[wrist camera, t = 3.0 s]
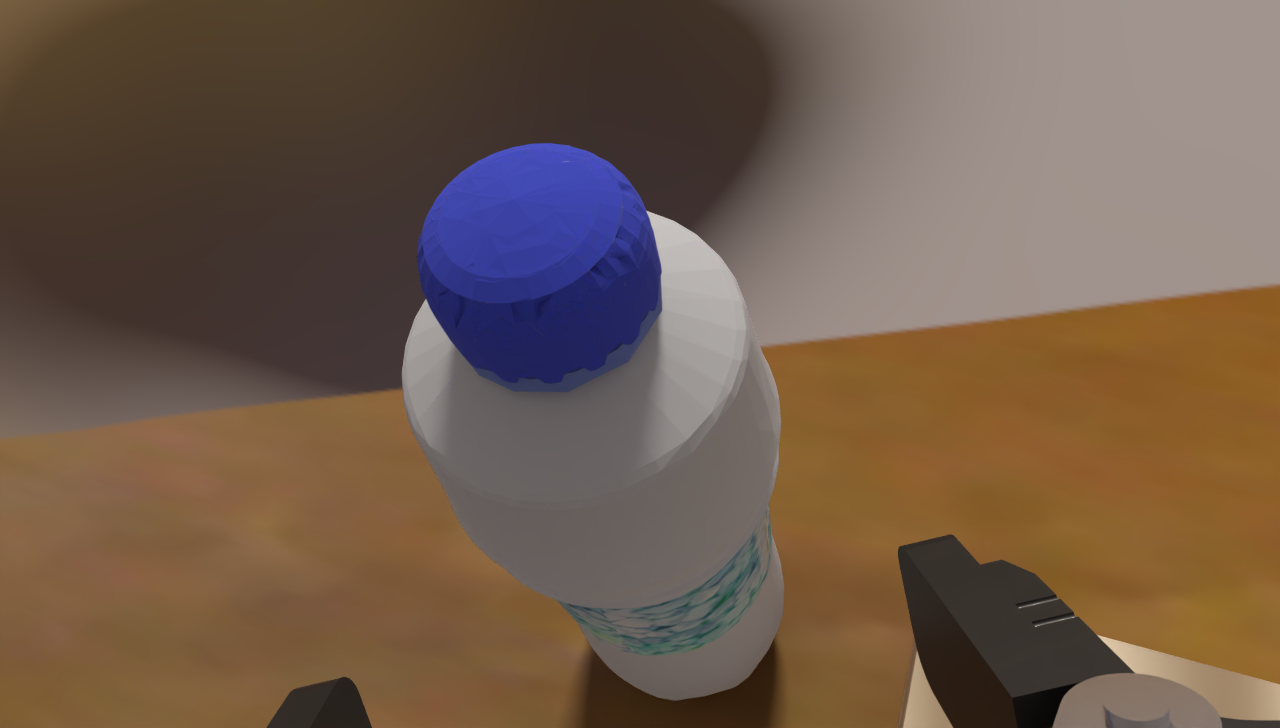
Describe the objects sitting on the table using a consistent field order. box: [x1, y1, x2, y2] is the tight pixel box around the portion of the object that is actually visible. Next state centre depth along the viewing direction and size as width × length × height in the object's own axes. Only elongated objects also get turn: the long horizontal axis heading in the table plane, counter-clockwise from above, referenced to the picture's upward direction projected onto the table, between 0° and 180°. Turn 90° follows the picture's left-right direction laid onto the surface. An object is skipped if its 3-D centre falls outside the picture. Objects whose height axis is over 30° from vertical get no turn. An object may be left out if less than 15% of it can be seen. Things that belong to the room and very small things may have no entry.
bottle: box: [402, 143, 784, 701], centre depth 19 cm, size 7×7×20 cm
